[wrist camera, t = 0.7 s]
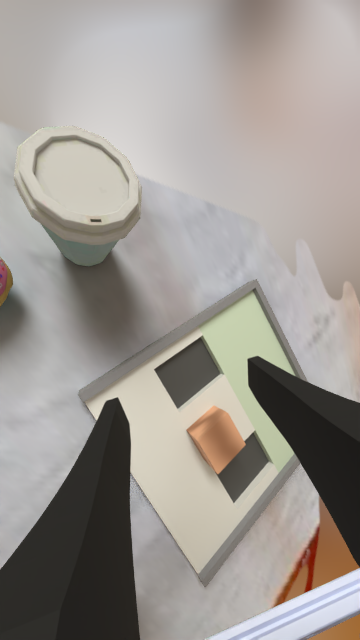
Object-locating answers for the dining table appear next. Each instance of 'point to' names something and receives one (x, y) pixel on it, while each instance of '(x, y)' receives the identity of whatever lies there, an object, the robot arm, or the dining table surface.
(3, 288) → the cupcake
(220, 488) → the sectioned serving tray
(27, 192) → the disposable coffee cup
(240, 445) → the block
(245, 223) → the dining table surface
